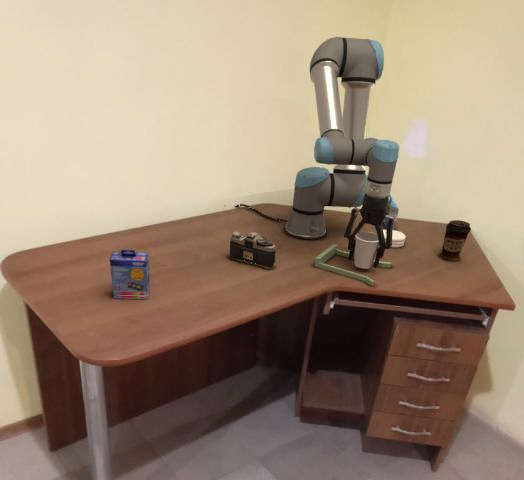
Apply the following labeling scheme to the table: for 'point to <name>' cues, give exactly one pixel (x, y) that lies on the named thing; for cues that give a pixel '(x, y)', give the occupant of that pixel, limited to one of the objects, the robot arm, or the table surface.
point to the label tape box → (391, 211)
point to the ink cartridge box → (130, 274)
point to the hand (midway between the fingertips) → (363, 262)
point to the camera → (252, 249)
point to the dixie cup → (365, 249)
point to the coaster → (396, 238)
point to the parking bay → (328, 254)
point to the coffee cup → (454, 239)
